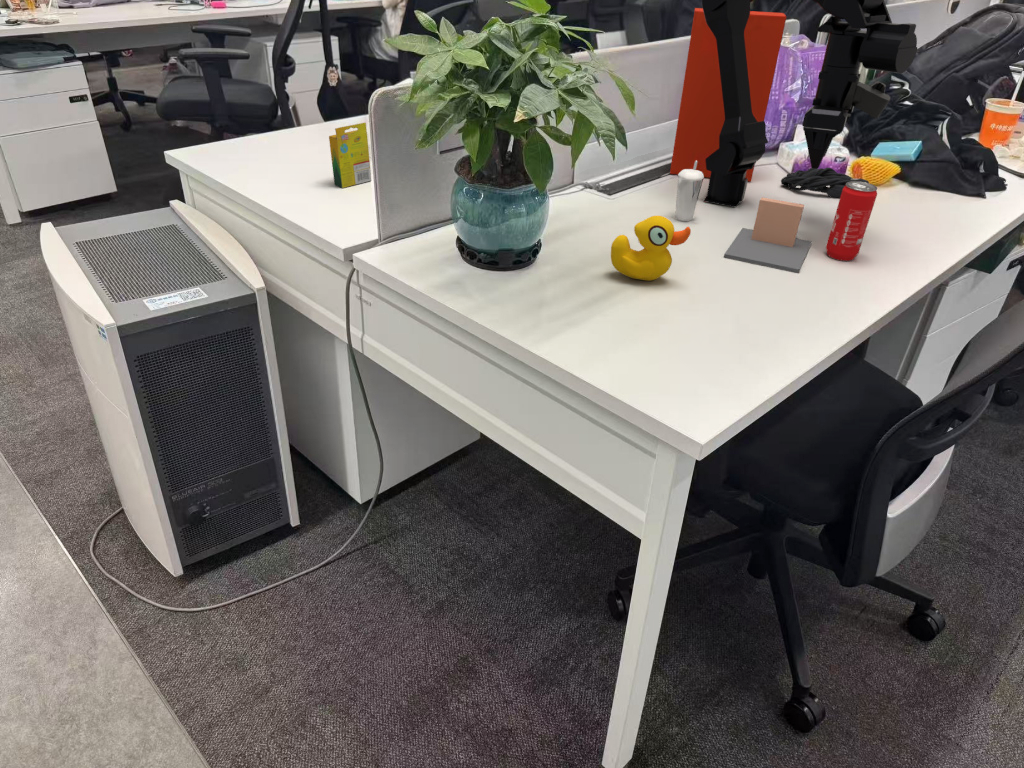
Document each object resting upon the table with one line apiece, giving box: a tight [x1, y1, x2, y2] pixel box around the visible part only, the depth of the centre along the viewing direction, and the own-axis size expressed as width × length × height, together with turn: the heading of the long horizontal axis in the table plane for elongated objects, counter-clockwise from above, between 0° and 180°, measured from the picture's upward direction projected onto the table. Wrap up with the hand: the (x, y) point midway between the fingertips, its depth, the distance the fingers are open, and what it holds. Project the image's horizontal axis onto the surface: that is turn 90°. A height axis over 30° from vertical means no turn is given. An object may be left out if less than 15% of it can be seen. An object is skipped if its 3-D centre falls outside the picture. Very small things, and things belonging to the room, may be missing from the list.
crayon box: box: [328, 122, 372, 189], centre depth 142 cm, size 7×3×12 cm, turn 136°
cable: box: [780, 167, 870, 199], centre depth 152 cm, size 17×14×4 cm
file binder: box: [669, 7, 787, 183], centre depth 150 cm, size 8×17×32 cm, turn 77°
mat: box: [723, 227, 812, 274], centre depth 122 cm, size 12×14×1 cm
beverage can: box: [825, 181, 878, 262], centre depth 118 cm, size 5×5×12 cm
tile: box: [751, 196, 805, 247], centre depth 122 cm, size 7×2×7 cm, turn 63°
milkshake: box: [674, 161, 705, 222], centre depth 132 cm, size 4×5×10 cm
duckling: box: [610, 215, 692, 282], centre depth 109 cm, size 11×5×10 cm, turn 78°
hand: (818, 162), depth 125 cm, fingers open, 9 cm apart
